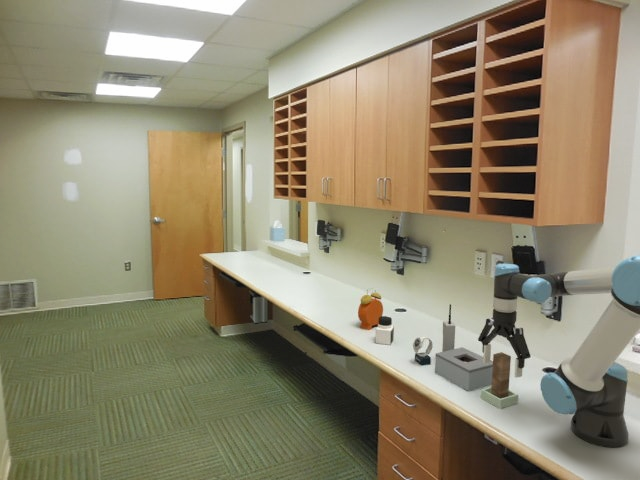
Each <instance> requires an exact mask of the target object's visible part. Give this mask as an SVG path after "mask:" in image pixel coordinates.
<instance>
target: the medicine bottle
mask: <svg viewBox="0 0 640 480" xmlns="http://www.w3.org/2000/svg"><path fill="white" fill-rule="evenodd" d="M392 320H393V319H392V317H391V316H390V315H389V316H388V315H382V316H381V317H379V324H378V326H376V328H375V344H379V345H388V346H391V345H392V343H393V341H394V337H395V336H394V335H395V333H394V332H395V331H394V330H395V326H394V325H393V324H392V322H393V321H392Z"/></svg>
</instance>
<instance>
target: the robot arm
mask: <svg viewBox="0 0 640 480" xmlns="http://www.w3.org/2000/svg"><path fill="white" fill-rule="evenodd" d="M493 277H494V279H493V300H492V301H493V302H492V308H493V310H492V317H490V318H486V319H485V324H484V326H483V329H482V330H481V332H480V333H479V336H478V338H477V340H478V342H481V344H482V349H481V350H482V353H483V356H482V357H483V363H489V362H490V360H491V354H492V344H491V342H492V341H493V340H494V339H495V338H496V337H497V336H501V337H503V338H505V339H506V341H508V342H509V344H510V345H511V347H512V349H513V352H514V354H515V355H516V357H515V363H514V378H520V377H523V368H525V362H526V361H525V360H527V359H530V358H531V353H530V350H529V348H528V344H527V341H526V338H525V335H524V328H523V327H516V325H515V324H516V322H517V316H518V315H517V313H518V312H517V311H516V310H518V309H517V307H518V298H521V299H524V300H527V301H528V302H529V301H530V302H533V303H538V304H539V303H545V302H546V301H547V300H549V299H550V298H553V297H563V296H565V297H566V296H579V295H581V296H582V295H597V294H598V295H601V294H610V296H611V297H612V300H611V301H610V303H609V304H608V306H606V309H605V310H604V311H603V313H602V314H601V315H600V317H599V318H598V320H597V321H596V323H595V324H594V326H592V328H591V330H590V331H589V333H588V334H587V336H586V337H585V339H584V340H583V342H582V343H581V344H580V346H579V347H578V349H577V350H576V352H575V353H574V355H572V357H567V358H565V359H563V360H562V361H561V363H560V364H559V365H558V367H557V368H556V370H555V371H554V372H548V373H546V374H544V375H543V376H542V378H541V380H540V387H539V388H540V391H541V395H542V398H543V400H544V401H545V403H546V404H547V405H548V407H549V408H550V409H552V410H553V412H555V413H557V414H560V415H573V416H572V417H571V421H570V429H571V431H572V432H573V434H575V435H576V437H578V438H580V439H581V440H583V441H585V442H588V443H591V444H594V445H596V446H601V447H606V448H620V447H624V446H626V445H627V444H628V442H629V431H628V428H627V423H626V419H625V415H624V413H625V412H624V411H625V403H626V395H627V388H628V386H627V385H628V383H629V380H628V374H629V373H628V370H627V369H626V367H625V366H624V365H622V364H620V363H618V362H616V361H617V359H618V358H619V357H620V355H621V354H622V353H623V352H624V350H625V349H626V347H628V345H629V344H630V342H631V341H632V340H633V339H634V337H635V336H636V335H637V333H638V332H639V330H640V254H637V255H633V256H631V257H627V258H625V259H623V260H621V261H620V262H619V263H617V265H616V266H607V267H598V268H590V269H581V270H571V271H560V272H553V273H545V274H536V275H535V274H534V275H528V274H523V273H521V272H520V267H519V265H517V264H514V263H498V264H496V265H495V268H494V275H493ZM492 327H493V329H492ZM491 329H492V330H491Z"/></svg>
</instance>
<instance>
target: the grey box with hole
mask: <svg viewBox="0 0 640 480" xmlns="http://www.w3.org/2000/svg"><path fill="white" fill-rule="evenodd" d="M434 358H435V359H434V360H435V362H434V373H435V374H436V375H439V376H440V377H442V378H443V379H445V380H447V381H449V382H451V383H453V384H454V385H457V386H458V387H460V388H462V389H463V390H466V391H467V392H471V391H474V390H475V391H476V390H477V389H483V388H484V387H485V388H486V387H490V386H491V385H492V369H493V360H491V359H490V362H489V363H483V356H482V355H480V354H477V353H475V352H473V351H471V350H469V349H467V348H465V347H463V346H462V347H458V348H454V349H453V350H448V351H444V352H442V351H439V352H436V353H435V357H434ZM465 362H467V363H465Z"/></svg>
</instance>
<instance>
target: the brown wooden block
mask: <svg viewBox="0 0 640 480" xmlns="http://www.w3.org/2000/svg"><path fill="white" fill-rule="evenodd" d="M511 359H512V357H511V355H509V354H507V353H504V352H497V353H494V354H493V356H492V361H493V369H492V385H490V387H491V394H492V395H494V396H496V397H498V398H500V399H501V398H505V397H508V393H509V390H510V375H511V361H512V360H511Z"/></svg>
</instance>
